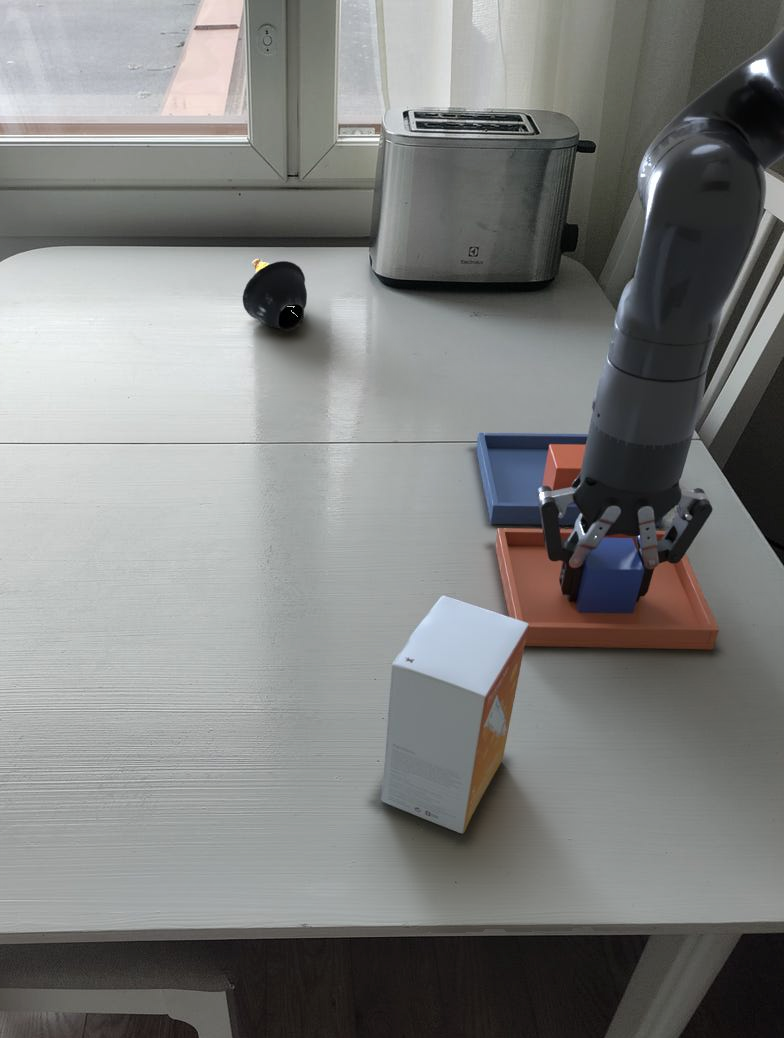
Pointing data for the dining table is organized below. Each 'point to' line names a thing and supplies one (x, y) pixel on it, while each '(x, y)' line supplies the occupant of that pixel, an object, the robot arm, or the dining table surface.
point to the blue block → (610, 578)
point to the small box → (451, 711)
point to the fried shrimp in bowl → (276, 294)
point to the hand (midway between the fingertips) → (601, 595)
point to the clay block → (563, 465)
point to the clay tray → (556, 621)
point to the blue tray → (519, 475)
